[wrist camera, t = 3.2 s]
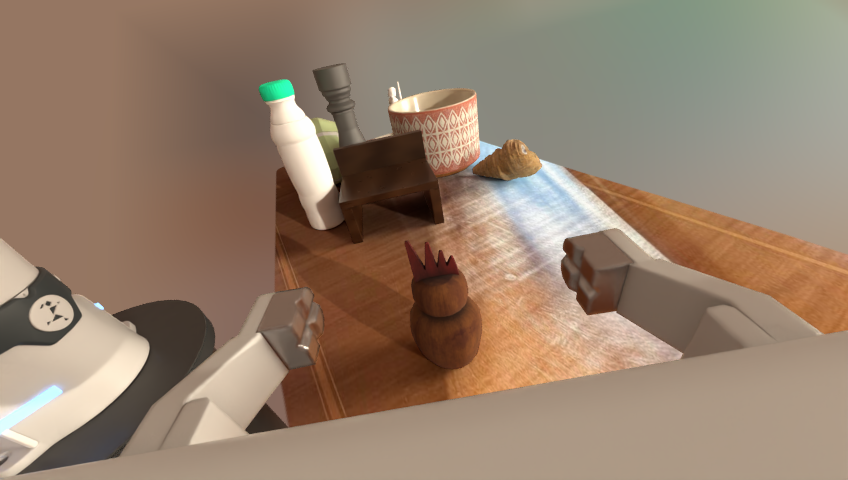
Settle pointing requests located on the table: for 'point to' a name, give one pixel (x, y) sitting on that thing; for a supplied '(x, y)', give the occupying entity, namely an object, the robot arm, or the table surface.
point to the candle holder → (339, 102)
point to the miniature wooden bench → (384, 176)
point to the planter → (441, 126)
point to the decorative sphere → (328, 144)
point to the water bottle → (302, 156)
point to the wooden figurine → (443, 311)
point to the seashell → (509, 162)
